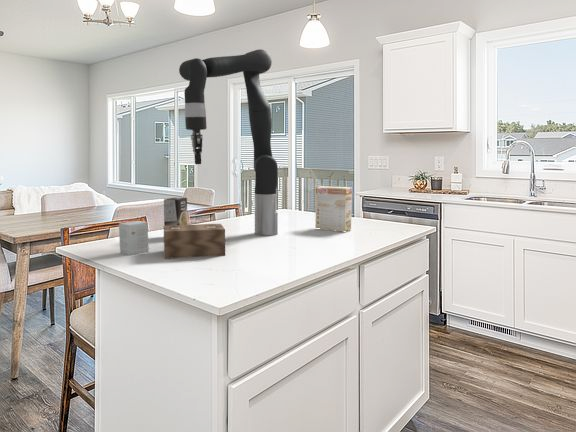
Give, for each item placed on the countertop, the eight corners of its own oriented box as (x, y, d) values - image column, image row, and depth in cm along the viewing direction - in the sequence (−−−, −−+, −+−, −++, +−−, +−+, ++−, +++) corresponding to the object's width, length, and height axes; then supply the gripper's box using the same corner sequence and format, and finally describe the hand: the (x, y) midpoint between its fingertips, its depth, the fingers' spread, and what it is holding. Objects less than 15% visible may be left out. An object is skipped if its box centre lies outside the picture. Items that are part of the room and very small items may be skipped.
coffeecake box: (351, 230, 206) (352, 187, 204) (344, 232, 200) (345, 188, 198) (322, 227, 214) (323, 185, 211) (314, 229, 208) (315, 186, 206)
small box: (138, 249, 164) (137, 220, 163) (149, 251, 161) (148, 221, 160) (119, 253, 158) (118, 223, 156) (129, 255, 155) (128, 224, 153)
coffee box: (179, 240, 181) (178, 199, 179) (164, 239, 183) (162, 199, 180) (188, 236, 190) (187, 197, 188) (174, 235, 191) (173, 196, 189)
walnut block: (220, 247, 167) (220, 223, 166) (225, 255, 156) (225, 229, 155) (164, 250, 162) (163, 225, 161) (164, 258, 151) (163, 231, 149)
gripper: (208, 115, 162) (210, 164, 165) (203, 117, 175) (206, 163, 177) (186, 115, 160) (189, 165, 163) (183, 117, 172) (186, 164, 175)
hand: (198, 164), depth 170 cm, fingers closed
